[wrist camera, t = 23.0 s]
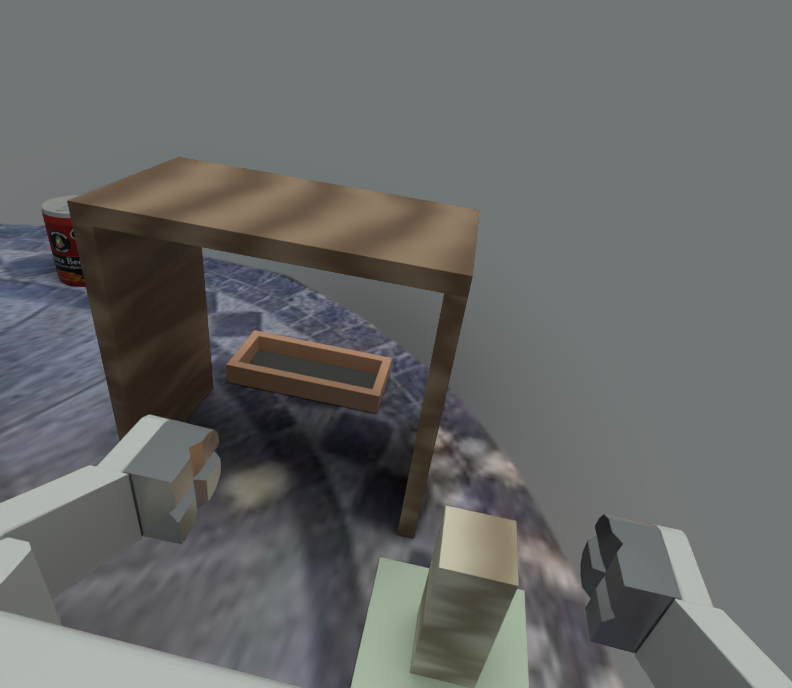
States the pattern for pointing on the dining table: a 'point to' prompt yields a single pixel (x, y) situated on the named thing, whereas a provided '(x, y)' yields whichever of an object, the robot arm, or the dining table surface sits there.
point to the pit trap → (310, 371)
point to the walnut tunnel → (263, 238)
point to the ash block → (465, 596)
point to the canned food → (63, 240)
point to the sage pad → (395, 631)
